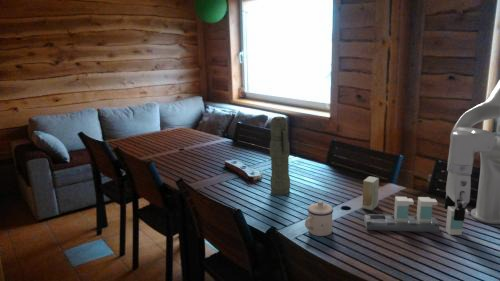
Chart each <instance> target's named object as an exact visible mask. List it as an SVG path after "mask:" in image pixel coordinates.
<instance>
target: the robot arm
mask: <svg viewBox="0 0 500 281" xmlns="http://www.w3.org/2000/svg"><path fill="white" fill-rule="evenodd" d="M498 118H500V79H499V80H498V81H497V82H496V84H495V86H494V87H493V89H492V91H491V92H490V94H489V95H488V96H487V98H486V100H485V101H483V102H481V103H480V104H479V103H478V104H477V105H476V106H474V107H472V108H470V109H468V110H467V111H465V112H464V113H463V114H462V115H461V116H460V117H459V119H458V120H457V122H456V123H455V125H454V126H453V128H452V130H451V132H450V136H449V137H450V138H449V139H450V142H449V151H448V156H447V157H448V158H447V168H446V171H447V172H448V173H447V179H446V185H445V192H446V194H445V200H444V201H445V202H444V209H445V210H448V206H456V209H455V212H454V220H455V221H463V222H464V221H465V216H466V215H465V211H466V209H467V208H468V204H469V203H470V201H471V200H470V199H471V190H472V189H471V187H472V186H471V185H472V182H471V181H472V179H471V178H472V177H471V175H472V173H473V167H474V159H475V154H476V153H479V156H480V170H479V177H478V178H479V179H478V180H479V181H478V187H477V188H478V189H477V190H478V191H477V196H476V197H477V198H476V206H475V208H473V209H471V211H470V215H471V217H472V218H474V219H475V220H477V221H479V222H482V223H486V224H491V225H500V121H499V122H498V124H497V128H496V129H497V133H498V134H499V135H496V134H495V133H494V132H492V131H490V130H487V129H481V128H476V127H474V126H475V125H476V124H479V123H481V122H484V121H487V120H488V121H489V120H492V119H498Z"/></svg>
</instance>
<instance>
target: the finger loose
mask: <svg viewBox="0 0 500 281" xmlns="http://www.w3.org/2000/svg"><path fill="white" fill-rule="evenodd" d="M455 209H456V205H455V206H448V209H446V210H447V211H446V212H447V213H446V223H445V230H446V232H447V234H448V235H449V236H450V235H453V236H454V235H455V236H462V235H463V233H462V232H463V226H464V221H455V220H454V212H455ZM469 212H470V211H469V210H468V209H467V208H466V211H465V216H469V214H470V213H469Z"/></svg>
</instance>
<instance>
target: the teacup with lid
mask: <svg viewBox="0 0 500 281" xmlns="http://www.w3.org/2000/svg"><path fill="white" fill-rule="evenodd" d="M307 212H308V213H307V214H308V216H307V218H305V222H304V226H305V228H306V229H307V230H308V232H309V234H311V235H313V236H316V237H325V236H326V237H327V236H328V235H329V236H330V235H331V234H332V232H333V213H334V209H333V206H331V205H330V204H327V203H324V201H323V200H318V201H317V202H316V203H312V204H309V206H308V208H307Z"/></svg>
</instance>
